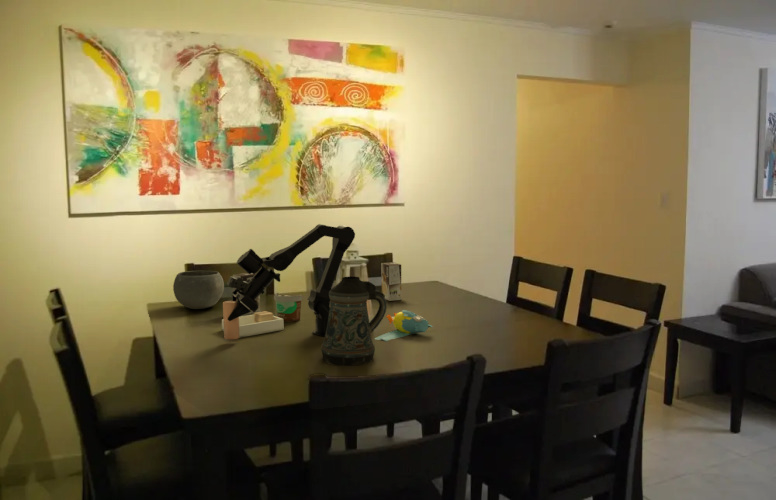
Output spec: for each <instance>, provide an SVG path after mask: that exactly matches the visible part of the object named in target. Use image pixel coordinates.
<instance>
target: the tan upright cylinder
mask: <svg viewBox="0 0 776 500" xmlns="http://www.w3.org/2000/svg"><path fill="white" fill-rule="evenodd" d="M235 306H236V301H232V300H226V301H223V302H222V314H223V315H222V316H223V319H224V331H223V335H224V337H223V338H224V339H225V340H237V339H240V338H241V337H240V332H239V317H238V318H235V319H233V320H231V321H229V320H228V317H229V315H230V314H231V312H232V311H233V309H234V308H235ZM239 337H240V338H239Z"/></svg>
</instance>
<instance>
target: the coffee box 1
mask: <svg viewBox="0 0 776 500" xmlns="http://www.w3.org/2000/svg"><path fill="white" fill-rule="evenodd" d="M256 273H257V272H256ZM256 273H255V274H256ZM255 274H253V273H251V274H248V273H247V272H242V273H236V274H235V273H234V274H232V277H235V278H238V277H239V278H242V279H243V281H245V282H246V281H247V280H248V279H250V280H251V279H252V278H253V277H254V275H255ZM232 295H233V296H234V294H233V293H232ZM260 296H261V294H260V295H259V296H258V298H257V299H256V300H255V301H256V303H257V304H258V309H257V310H256V311H255V312H253V311H252V310H251V309H250V311H251V312H249V313H247V314H244V315H243V316H247V315H253V314H254V313H257V312H261V302H260V301H261V297H260Z"/></svg>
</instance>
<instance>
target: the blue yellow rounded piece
mask: <svg viewBox="0 0 776 500" xmlns="http://www.w3.org/2000/svg"><path fill="white" fill-rule="evenodd" d="M385 318H386V319H387V320H388V321H389V322H388V323H389V324H388V325H391V324H393V326H394V328H395V329H394V330H391V331H389V332H386V333H383V334H381V335H379V336H377V337H375V338H374V340H379V341H384V342H389V341H390V340H394V339H398V338H402V337H407V336H409V335H412V334H417V333H418V334H419V333H425V332H427V330H428V328H433V325H431V324H429V320H427V319H425V318H424V317H422V316H421V315H418V314H417V313H414V312H413V311H409V310H405V309H402V311H400V312H393V316H391V314H389V313H388V314H387V315H386V314H385Z"/></svg>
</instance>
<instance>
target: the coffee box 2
mask: <svg viewBox="0 0 776 500" xmlns="http://www.w3.org/2000/svg"><path fill="white" fill-rule="evenodd" d="M380 268H381V270H380V271H381V272H380V273H381V275H380V276H381V279H380V280H381V293H383V294H384V295H385V299H386V301H389V302H390V301H401V300H402V264H401V263H396V262H393V261H392V262H381V265H380Z"/></svg>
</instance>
